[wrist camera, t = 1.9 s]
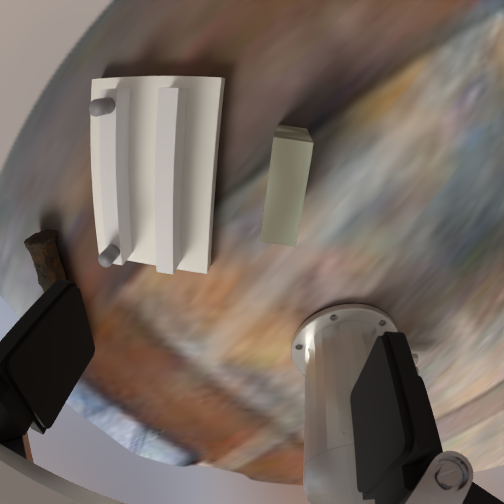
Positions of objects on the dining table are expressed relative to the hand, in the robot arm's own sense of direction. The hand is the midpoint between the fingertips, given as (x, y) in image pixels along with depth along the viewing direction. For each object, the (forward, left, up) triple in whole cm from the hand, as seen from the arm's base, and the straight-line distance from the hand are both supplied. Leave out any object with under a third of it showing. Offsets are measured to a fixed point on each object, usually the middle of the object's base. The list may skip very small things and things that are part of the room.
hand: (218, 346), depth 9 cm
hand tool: (+23, +18, -21) cm, 36 cm away
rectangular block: (-2, -1, -21) cm, 21 cm away
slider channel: (+10, +1, -21) cm, 23 cm away
